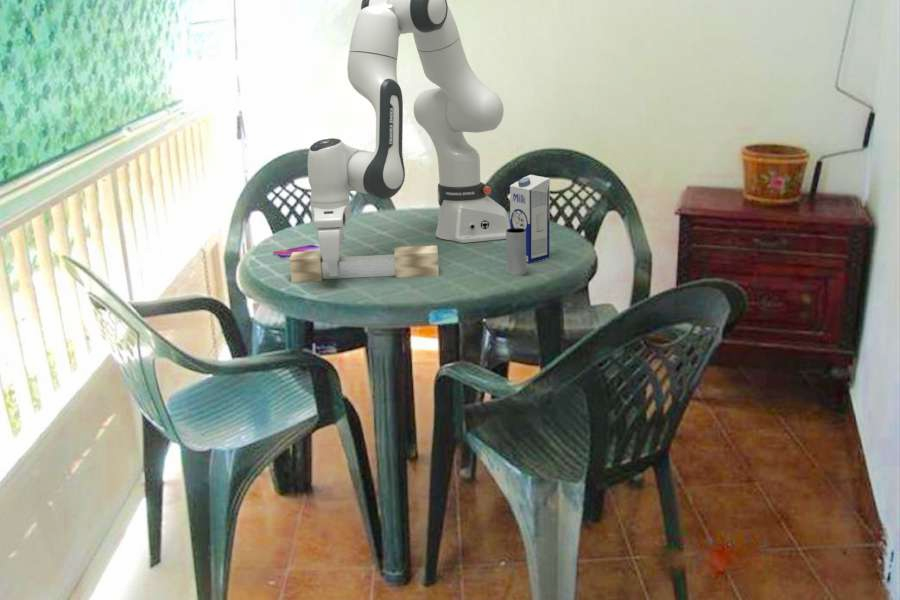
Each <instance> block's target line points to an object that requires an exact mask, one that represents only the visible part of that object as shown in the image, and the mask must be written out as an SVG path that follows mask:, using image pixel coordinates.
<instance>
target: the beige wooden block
mask: <svg viewBox="0 0 900 600" xmlns="http://www.w3.org/2000/svg"><path fill="white" fill-rule="evenodd" d="M321 258H322V255H321V251H307V252H292V255H291V257H290V258H289V259H288V260H289V262H288V263H289V272H290V281H291V283H307V282H311V283H312V282H322V281H323V279H322V271H321Z"/></svg>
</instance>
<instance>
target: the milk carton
mask: <svg viewBox="0 0 900 600" xmlns="http://www.w3.org/2000/svg"><path fill="white" fill-rule="evenodd" d="M550 181H551V178H550V177H546V176H539V175H535V174H529V175H527V176H524V177H522V178H521V179H518V180H517V181H515V182H514V183H512V184H511V185H509V205H510V206H509V212H510V213H509V223H510V228H523V229H525V230H526V264H532V262H533V263H536V262H535V261H537V262H539V260H540V261H544V260H547V259H546V258H548V259H550V210H551V209H550V196H551V195H550V192H551V191H550V190H551V189H550V185H551V184H550V183H551V182H550ZM543 259H544V260H543Z"/></svg>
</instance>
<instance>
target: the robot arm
mask: <svg viewBox="0 0 900 600" xmlns="http://www.w3.org/2000/svg"><path fill="white" fill-rule="evenodd" d="M401 34H403V35H405V34H413V35H412V36H413V39H414V43H415V47H416V50H417V54H418V57H419V60H420V63H421V66H422V69H423V73H424V75H425V77H426V78H427V80H428V81H430V82H431V83H432V84H434V85H436V86H438V87H436V88H432V89H426V90H423V91H421V92H420V93H419V94H418V95H417V97H416V98H415V100H414V103H413V115H414V119H415V121H416V122H417V124H418V125H419V126H420V127H421V128H422V129H423V130H424V131H425V132H426V133H427V134H428V136H429V138H430V140H431V141H432V143H433V147H434V148H435V152H436V153H435V154H436V157H437V164H438V165H437V166H438V178H439V180H438V181H439V182H438V184H437V202H438V206H439V208H438V219H437V224H436V225H437V226H436V231H435V234H434V235H435V237H437V238H439V239H442V240H445V241H446V240H447V241H453V242H457V243H462V244H464V243H465V244H467V243H475V242H484V241H485V242H486V241H496V240H506V230H507V229H510V216H509V214H508V213H507V210H506V209H505V208H504V206H502V205H500V203H498V202H496V201H495V200H494V199H493V198H491V197H489V195H490V194H491V193H492V190H491V187H490V186H489V185H487V184H486V183H485V182H482V181H481V159H480V158H481V157H480V154H479V152H478V150H476V148H474V147H473V146H472V145H470V143H468V142H467V140H466V138H465V136H464V133H477V134H478V133H485V132H488V131H493V130H496V129H497V128H498V127H499V126H500V124H501V122H502V120H503V117H504V113H505V112H504V104H503V102H502V101H503V100H502V99H501V97H500V95H498V93H496V92H495V91H492V90H491V89H490V88H489V87H487V86H486V85H485V84H484V83H483V82H482V81H481V80H480V79H479V78H478V76H477V75H476V73H475V72H474V71H473V70H472V68H471V65H470V64H469V62H468V61H469V60H468V59H467V57H466V54H465V49H464V47H463V44H462V39H461V36H460V33H459V29H458V26H457V24H456V20H455V18H454V15H453V13H452V10H451V8H450V7H449V5H448V1H447V0H362V2H361V4H360V10H359V12H358V14H357V15H356V19H355V23H354V26H353V29H352V35H351V39H350V43H349V51H348V56H347V67H346V69H347V79H348V82H349V83H350V85H351V86H352V88H353V89H354V90H355V91H356V92H357V93H358V94H359V95H361V96H362V97H363V98H365V99H366V100H367V101H368V102H369V103H370V104H371V105H372V107H373V109H374V111H375V117H376V118H375V119H376V120H375V149H374V151H367V150H363V149H359V148H355V147H352V146H350V145H348V144H346V143H344V142H343V141H342V140H341V139H339V138H336V137H335V138H334V137H332V138H326V139H325V138H324V139H320V140H317V141H316V142H314V143H313V144H311V145H310V147H309V149H308V152H307V177H308V183H309V186H310V196H309V197H310V198H309V199H310V211H311V221H313V227H314V229H316V230H317V237H318V238H317V239H318V243H319V245H320V250H321V255H322V259H323V261H324V262H328V266H329V271H330V276H331V277H333V276H337V275H338V267H337V261H338V260H339V257H341V254H342V253H341V252H342V248H343V244H344V240H345V239H344V238H345V233H344V227H346V225H347V221H349V220H351V204H350V203H351V201H350V193H351V192H357V193H361V194H366V195H370V196H372V197H375V198H378V199H382V200H387V199H390V198H393V197H394V196H395V195H397V193H399V191H401V188H402V187H403V186H404V185H403V184H404V182H405V180H406V179H405V178H406V177H405V176H406V168H405V163H404V157H403V129H404V128H403V124H404V123H403V122H404V121H403V120H404V118H403V117H404V112H403V110H404V107H403V106H404V101H403V99H404V98H403V93H402V92H403V91H402V89H401V87H400V84H399V83H398V76H397V75H398V74H397V65H398V56H399V55H398V54H399V43H400V42H399V41H400V39H399V38H400V36H401Z"/></svg>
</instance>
